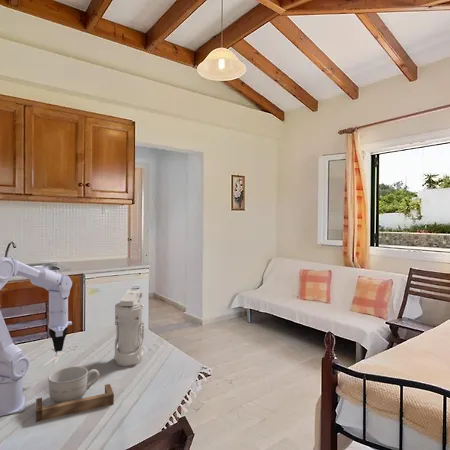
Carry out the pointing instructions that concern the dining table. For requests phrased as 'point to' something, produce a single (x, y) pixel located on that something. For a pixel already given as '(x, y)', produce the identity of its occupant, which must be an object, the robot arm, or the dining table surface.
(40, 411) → the dock
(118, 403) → the dining table surface
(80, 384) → the teacup
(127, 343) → the lantern
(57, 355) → the scissors
